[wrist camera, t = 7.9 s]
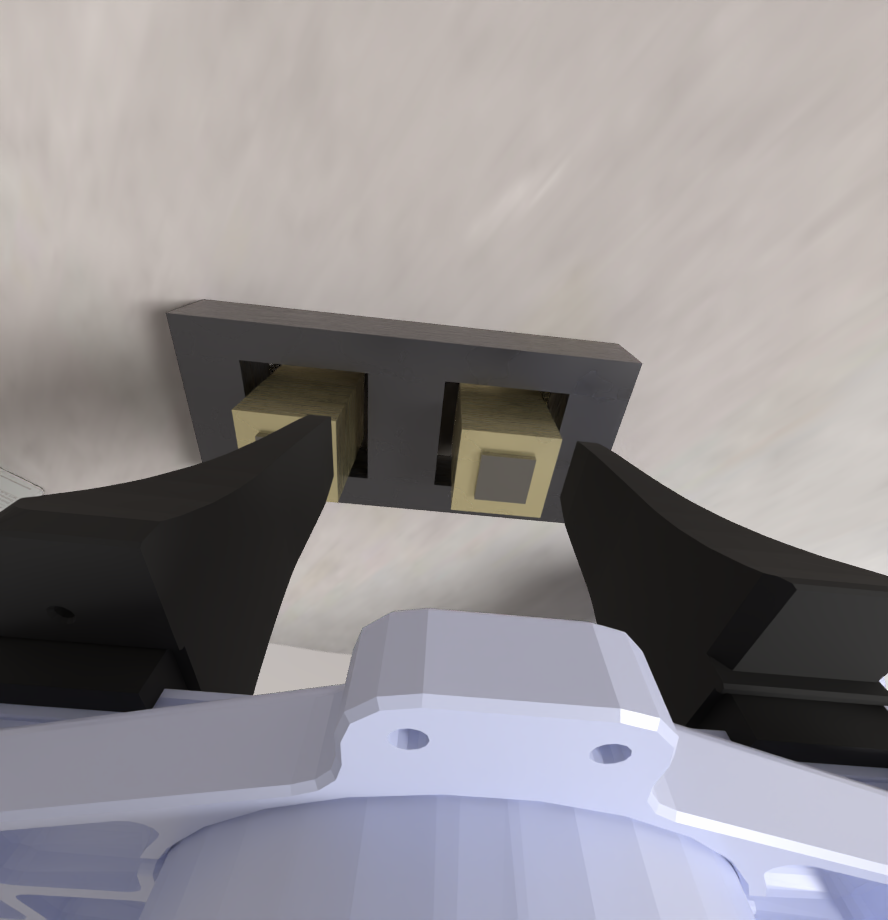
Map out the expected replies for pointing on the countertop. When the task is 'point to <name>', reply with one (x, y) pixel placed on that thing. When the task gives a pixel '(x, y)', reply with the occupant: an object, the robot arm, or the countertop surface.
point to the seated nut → (502, 451)
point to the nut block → (307, 411)
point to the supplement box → (15, 489)
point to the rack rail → (397, 387)
